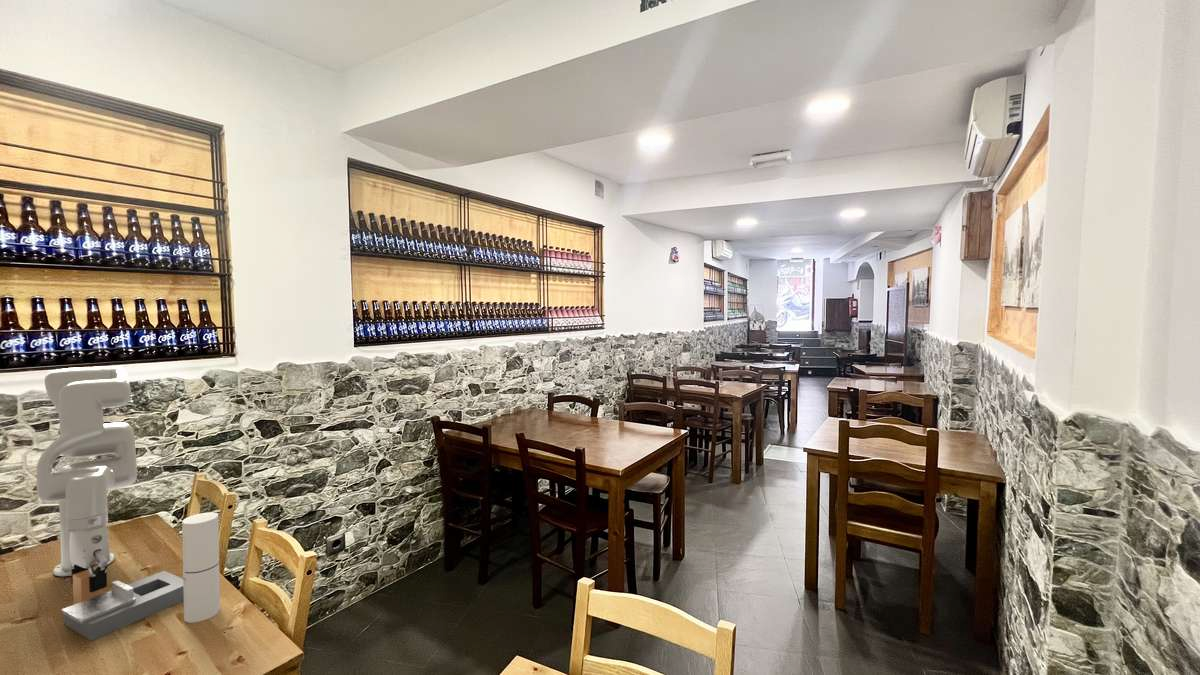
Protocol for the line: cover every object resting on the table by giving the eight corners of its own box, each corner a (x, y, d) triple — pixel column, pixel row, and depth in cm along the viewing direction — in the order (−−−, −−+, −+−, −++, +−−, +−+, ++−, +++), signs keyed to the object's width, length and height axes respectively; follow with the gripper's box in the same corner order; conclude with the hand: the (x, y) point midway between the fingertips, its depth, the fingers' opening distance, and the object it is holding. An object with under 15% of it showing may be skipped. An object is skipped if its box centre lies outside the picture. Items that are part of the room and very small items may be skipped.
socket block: (64, 624, 120) (63, 608, 120) (164, 584, 138) (163, 570, 138) (91, 640, 114) (91, 624, 114) (191, 596, 132) (191, 582, 132)
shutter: (61, 612, 118) (61, 599, 118) (115, 591, 127) (115, 579, 127) (80, 624, 114) (80, 610, 114) (135, 601, 123) (135, 588, 123)
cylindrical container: (199, 624, 121) (197, 525, 120) (176, 620, 122) (174, 522, 121) (227, 607, 128) (225, 513, 127) (204, 604, 129) (203, 511, 128)
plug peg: (73, 604, 128) (72, 574, 128) (97, 595, 132) (96, 566, 132) (81, 609, 126) (80, 578, 126) (105, 600, 130) (104, 570, 130)
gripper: (122, 521, 128) (124, 585, 128) (91, 511, 135) (92, 572, 136) (83, 532, 121) (85, 600, 122) (52, 521, 128) (54, 585, 129)
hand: (89, 585), depth 129 cm, fingers open, 9 cm apart
